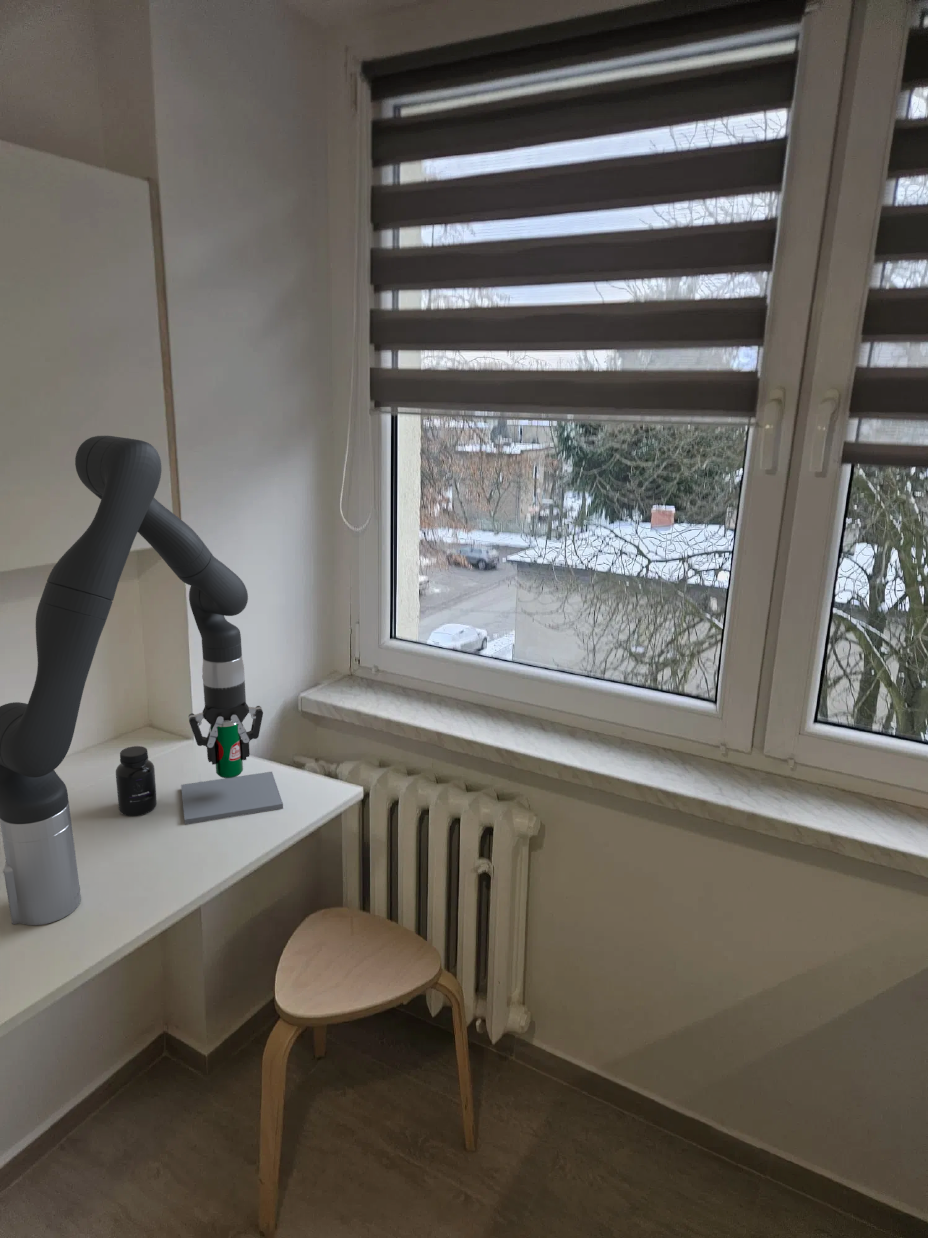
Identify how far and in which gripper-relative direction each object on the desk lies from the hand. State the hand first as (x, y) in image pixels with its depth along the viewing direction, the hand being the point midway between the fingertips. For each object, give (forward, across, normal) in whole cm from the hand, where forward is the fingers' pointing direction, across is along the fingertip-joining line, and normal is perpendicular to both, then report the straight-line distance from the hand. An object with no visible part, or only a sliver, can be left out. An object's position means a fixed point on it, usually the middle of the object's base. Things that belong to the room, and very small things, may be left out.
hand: (229, 760), depth 152 cm
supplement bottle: (+9, -17, +2) cm, 19 cm away
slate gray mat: (+8, 0, 0) cm, 8 cm away
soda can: (+3, 0, 0) cm, 3 cm away
